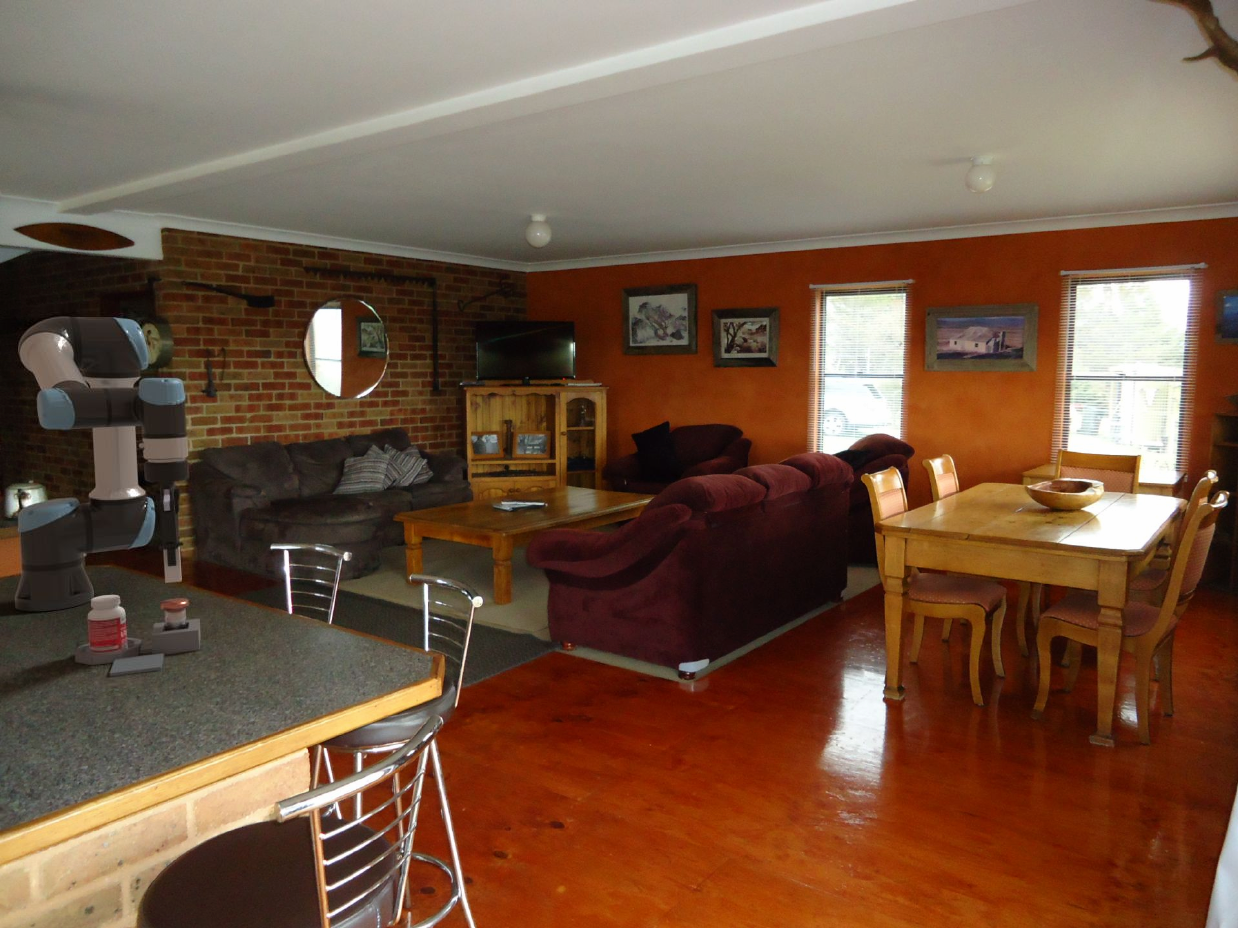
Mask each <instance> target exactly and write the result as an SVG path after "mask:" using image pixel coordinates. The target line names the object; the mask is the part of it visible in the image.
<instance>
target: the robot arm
mask: <svg viewBox="0 0 1238 928" xmlns="http://www.w3.org/2000/svg"><path fill="white" fill-rule="evenodd" d="M140 326H141V325H139V323H137V322H136V321H135V320H134V319H129V318H121V317H84V316H83V317H82V316H55V317H50V318H47V319H43V320H41V321H39V322H37V323H36V324H34V325H32V326H31V327H29V328H28V329H27V330H26V331H25V332H24V333H23V335H22V336H21V337H20V340H19V343H18V346H17V347H18V349H17V350H18V355H19V358H20V361H21V363H22V364H23V365H24V368H26V369H27V370H28V371H30V372H31V373H33V375H34V377H35V379H36V381H37V382H36V383H38V386H39V387H40V391H39V392H38V393H37V397H36V404H37V405H36V407H37V409H36V411H37V416H38V421H39V425H40V426H41V427H42V428H44V429H46V430H62V431H66V430H67V431H68V430H81V429H92V439H93V441H92V442H93V458H94V459H93V460H94V461H93V462H94V474H95V475H94V477H95V487H94V489H92V490H91V492H89V494H88V502H85V503H80V501H79V500H78V498H76V497H65V498H63V497H62V498H55V499H54V498H53V499H49V500H44V501H40V502H36V503H32V504H29V505H28V506H25V507H23V508H22V509H20V511H19V513H18V517H17V521H18V522H17V523H18V524H17V525H18V528H17V532H18V533H19V548H20V562H21V576H20V579H19V582H18V585H17V589H16V592H15V596H14V606H15V609H16V610H19V611H22V612H23V611H24V612H48V611H56V610H65V609H70V608H73V607H78V606H81V605H84V604H87V603H89V602H91V599H93V598H95V594H94V593H95V592H94V587H93V585H92V583H91V581H90V579H89V576H88V574H87V572H86V570H85V567H84V563H83V554H91V553H92V554H93V553H99V552H108V551H116V550H117V551H118V550H124V549H125V550H130V549H132V548H138V547H143V546H146V545H147V544H148V543H149V542H150V541H151V540H152V538H153V535H154V531H155V524H156V511H155V502H154V501H153V499H152V498H151V497H149V496H147V495H146V490H145V489H143V488H142V487H141V486H140V485H139V479H138V478H139V477H138V476H139V475H138V460H137V459H138V458H137V456H138V455H137V438H136V437H137V436H136V427H141V433H142V436H141V438H142V442H140V443H139V444H138V447H139V448H140V449H143V452H142V454H143V458H144V459H145V460H147V461H144V463H143V469H144V470H143V472H144V473H143V474H144V480H145V481H146V482H148V483H159V489H156V491H155V499H156V501H157V510H158V512H157V513H158V514H159V515H160V528H161V539H162V544H161V545H160V546H159V547H158V549H159V551H162V550H163V563H164V564H163V565H164V582H165V584H166V583H178V582H182V579H183V578H182V566H181V564H182V563H181V550H180V548H181V547H182V546H184V542H183V541H180V540H181V537H180V529H179V511H180V497H181V488H176V482H181V481H185V480H188V479H189V477H190V467H189V460H187V459H186V458H187V457H188V456H189V446H188V445H189V444H188V436H187V435H188V434H187V415H186V397H187V396H186V394H185V389H184V388H185V387H184V383H183V380H182V379H180V378H178V377H177V378H176V377H149V378H148V377H147V378H141V371H143V370H146V369H148V367H149V351H148V347H147V342H146V339H145V335H144V333H143V330H142V328H141V327H140ZM140 378H141V380H139V379H140ZM137 381H138V382H139V383H138V384H139V385H138V386H136V387H134V385H135V383H136V382H137ZM88 384H89V385H88ZM180 546H181V547H180Z"/></svg>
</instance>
